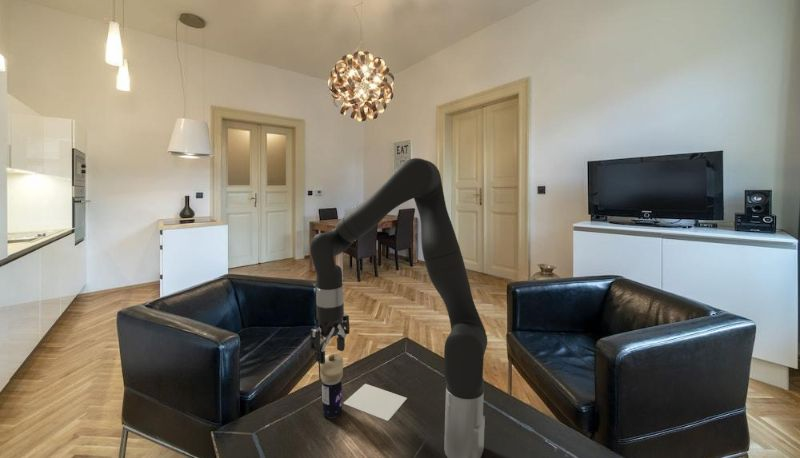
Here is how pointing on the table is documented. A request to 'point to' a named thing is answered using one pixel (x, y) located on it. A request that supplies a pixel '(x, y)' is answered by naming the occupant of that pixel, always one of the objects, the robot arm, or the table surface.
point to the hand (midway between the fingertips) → (331, 356)
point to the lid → (332, 368)
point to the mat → (375, 401)
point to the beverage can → (332, 398)
